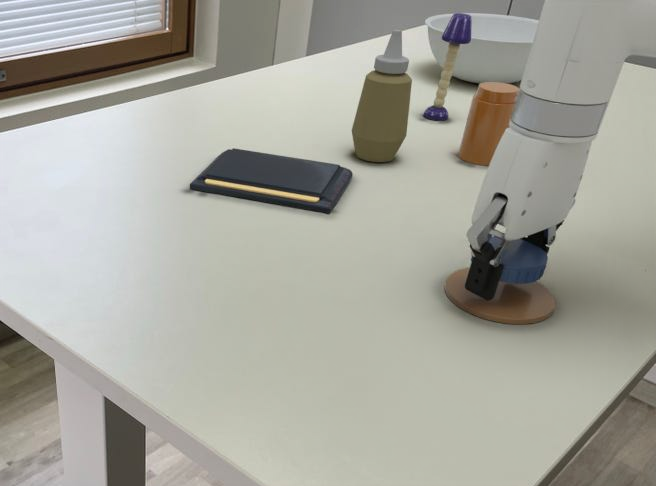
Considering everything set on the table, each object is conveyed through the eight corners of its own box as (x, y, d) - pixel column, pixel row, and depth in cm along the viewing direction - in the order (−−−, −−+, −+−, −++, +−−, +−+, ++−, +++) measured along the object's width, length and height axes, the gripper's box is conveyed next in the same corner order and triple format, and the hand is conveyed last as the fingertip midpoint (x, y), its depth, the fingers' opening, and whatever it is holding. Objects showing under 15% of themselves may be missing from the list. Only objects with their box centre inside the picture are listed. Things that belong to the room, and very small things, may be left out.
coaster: (573, 301, 76) (575, 296, 76) (517, 336, 71) (519, 331, 70) (481, 262, 83) (482, 257, 83) (423, 291, 78) (425, 286, 77)
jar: (509, 159, 111) (531, 88, 105) (486, 168, 108) (507, 95, 101) (473, 147, 115) (491, 78, 109) (449, 156, 112) (467, 85, 105)
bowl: (412, 89, 142) (423, 35, 136) (416, 57, 163) (426, 9, 157) (561, 104, 135) (579, 47, 130) (545, 69, 157) (561, 19, 151)
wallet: (357, 163, 103) (330, 202, 92) (354, 175, 104) (328, 215, 93) (226, 141, 109) (186, 175, 98) (225, 153, 111) (186, 188, 99)
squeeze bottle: (388, 170, 106) (413, 39, 96) (338, 157, 110) (358, 30, 99) (409, 155, 111) (436, 30, 101) (361, 143, 115) (382, 22, 105)
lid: (456, 261, 76) (460, 245, 75) (499, 246, 79) (504, 230, 78) (513, 290, 71) (519, 273, 70) (557, 273, 74) (563, 256, 73)
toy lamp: (442, 112, 130) (466, 11, 120) (456, 120, 126) (482, 16, 116) (418, 114, 129) (440, 12, 119) (432, 122, 125) (456, 17, 115)
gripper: (574, 90, 72) (520, 251, 83) (461, 117, 64) (417, 291, 75) (648, 110, 67) (581, 278, 78) (536, 142, 59) (478, 324, 70)
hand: (501, 283), depth 76 cm, fingers closed on lid, 6 cm apart
